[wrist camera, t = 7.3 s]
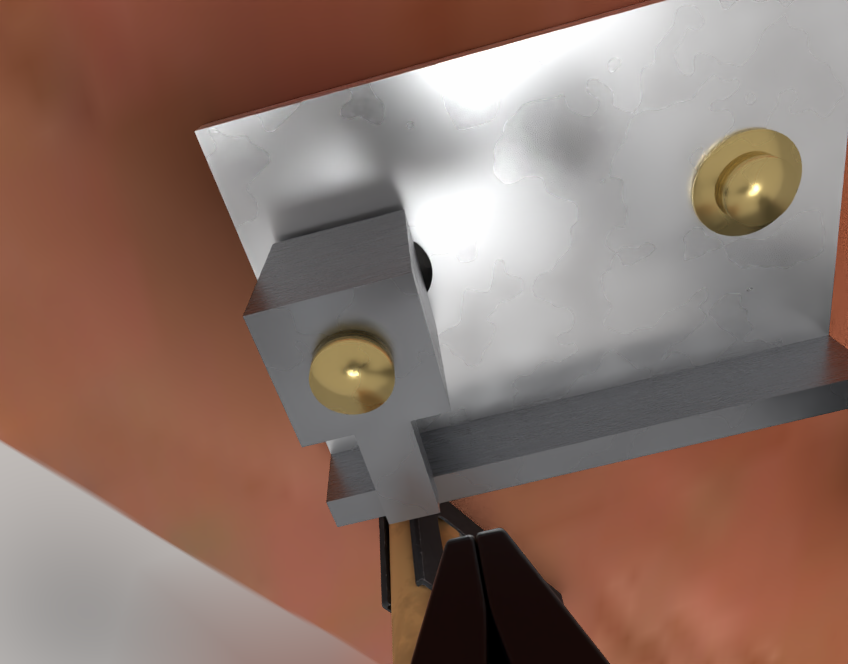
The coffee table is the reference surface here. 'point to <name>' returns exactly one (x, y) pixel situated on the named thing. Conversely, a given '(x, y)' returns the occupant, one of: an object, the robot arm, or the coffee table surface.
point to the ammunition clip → (416, 569)
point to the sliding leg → (356, 350)
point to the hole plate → (585, 229)
